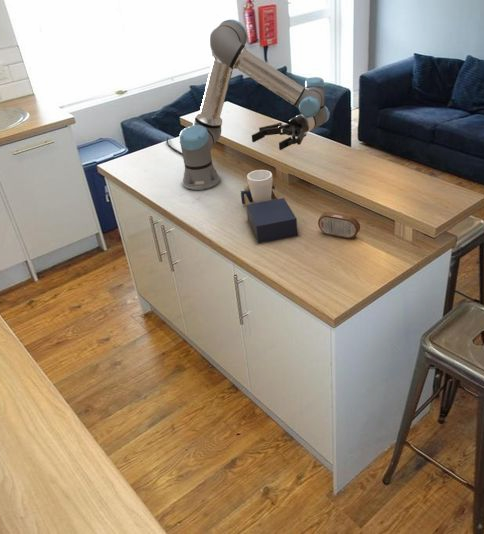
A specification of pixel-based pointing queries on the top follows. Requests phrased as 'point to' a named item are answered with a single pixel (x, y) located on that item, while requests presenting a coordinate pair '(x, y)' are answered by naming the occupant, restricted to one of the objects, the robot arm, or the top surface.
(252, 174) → the foam cup
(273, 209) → the cabinet
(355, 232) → the tin
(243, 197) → the drawer
